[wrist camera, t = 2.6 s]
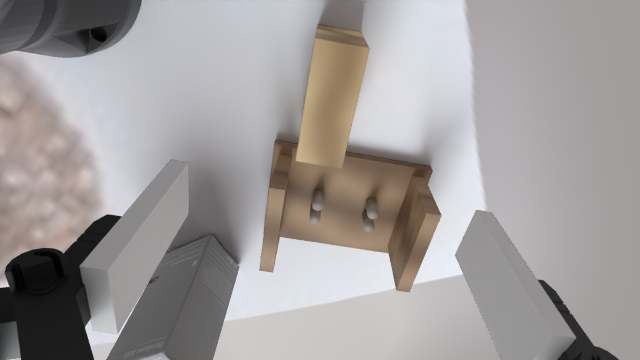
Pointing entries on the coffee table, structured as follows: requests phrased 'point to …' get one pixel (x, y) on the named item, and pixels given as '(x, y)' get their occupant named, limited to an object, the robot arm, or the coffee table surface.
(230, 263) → the skincare box
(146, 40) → the coffee table surface
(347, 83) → the light wooden block
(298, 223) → the peg frame
